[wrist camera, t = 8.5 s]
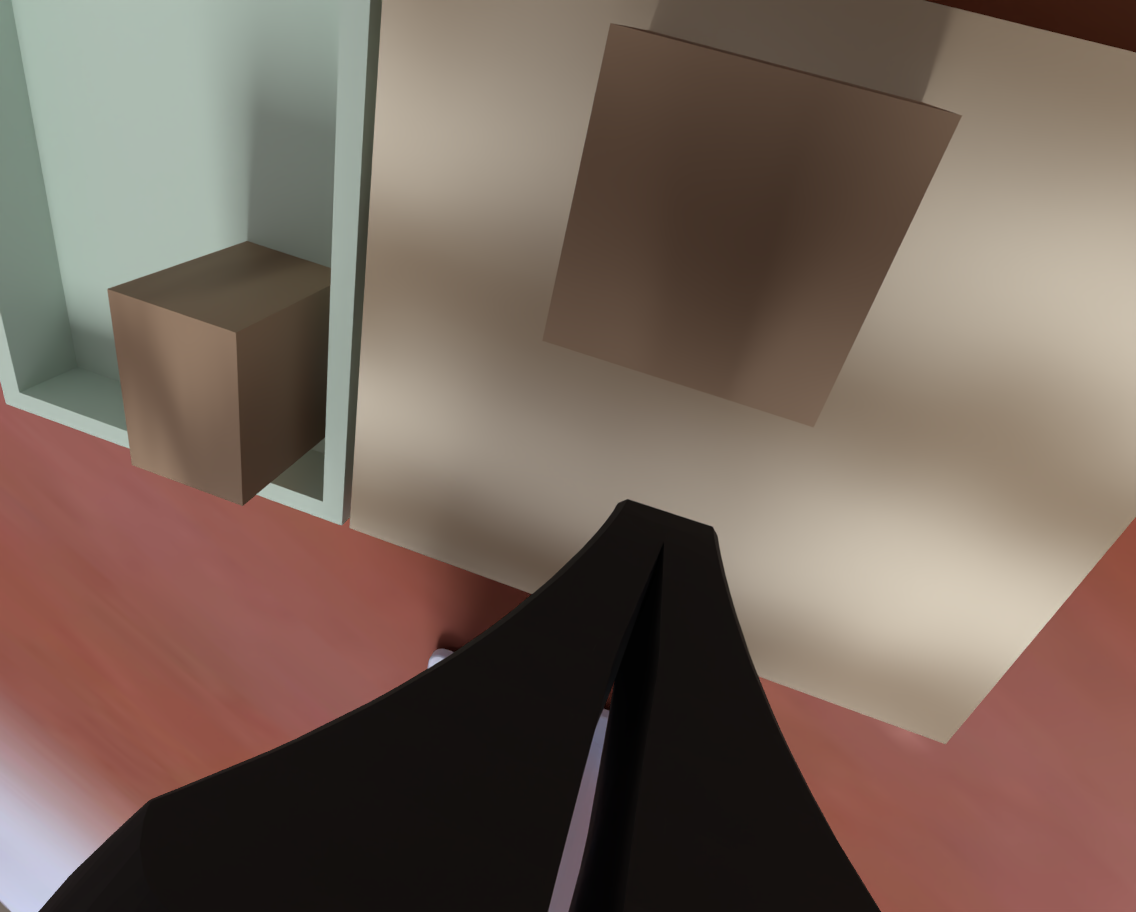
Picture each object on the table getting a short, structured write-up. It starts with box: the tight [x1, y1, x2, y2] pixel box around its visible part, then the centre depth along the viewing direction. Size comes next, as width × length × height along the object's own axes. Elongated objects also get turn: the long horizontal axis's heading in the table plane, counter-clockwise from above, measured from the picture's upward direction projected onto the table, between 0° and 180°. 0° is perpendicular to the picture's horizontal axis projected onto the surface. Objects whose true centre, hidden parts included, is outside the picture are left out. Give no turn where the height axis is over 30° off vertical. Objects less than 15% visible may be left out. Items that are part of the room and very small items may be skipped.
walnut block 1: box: [107, 241, 331, 506], centre depth 17 cm, size 4×4×3 cm
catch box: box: [0, 0, 382, 525], centre depth 17 cm, size 15×11×2 cm
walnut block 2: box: [542, 23, 962, 427], centre depth 11 cm, size 4×4×3 cm
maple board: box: [350, 0, 1136, 744], centre depth 15 cm, size 14×16×3 cm
